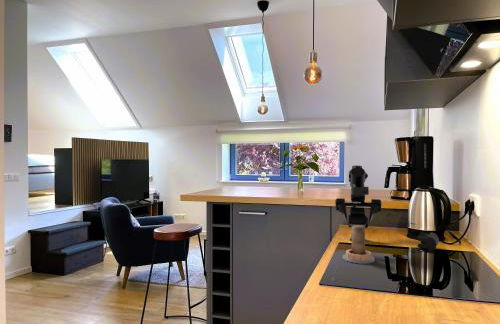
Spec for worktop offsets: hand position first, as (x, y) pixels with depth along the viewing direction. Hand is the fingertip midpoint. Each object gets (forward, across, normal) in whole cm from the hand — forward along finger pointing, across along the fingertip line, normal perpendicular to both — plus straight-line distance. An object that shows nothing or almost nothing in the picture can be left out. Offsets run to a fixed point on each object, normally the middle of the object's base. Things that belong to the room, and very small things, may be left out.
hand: (358, 221), depth 145 cm
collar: (+15, 0, +4) cm, 16 cm away
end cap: (-1, +29, +20) cm, 36 cm away
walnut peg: (+15, 0, +3) cm, 15 cm away
